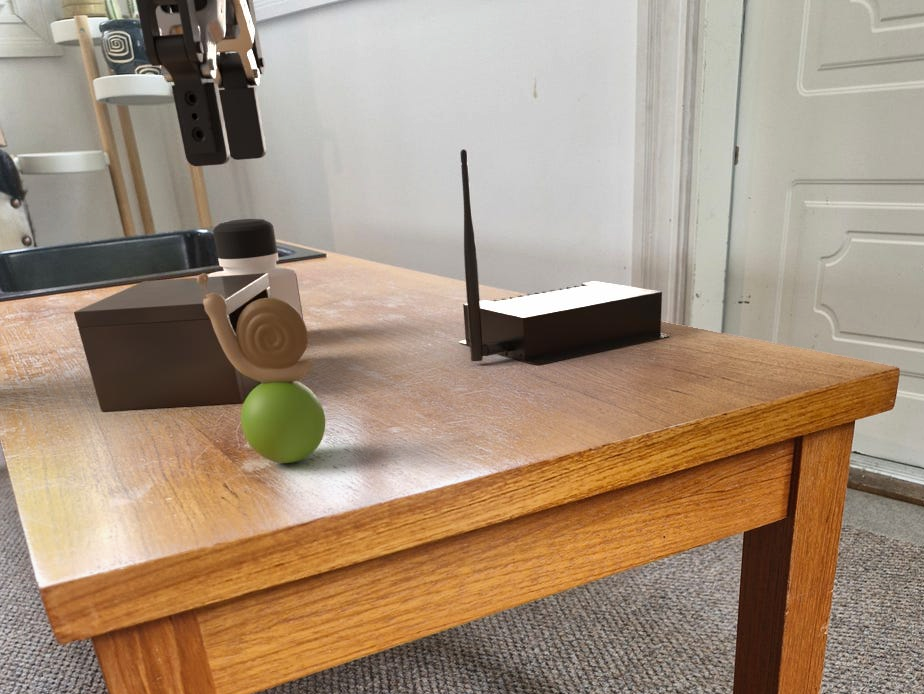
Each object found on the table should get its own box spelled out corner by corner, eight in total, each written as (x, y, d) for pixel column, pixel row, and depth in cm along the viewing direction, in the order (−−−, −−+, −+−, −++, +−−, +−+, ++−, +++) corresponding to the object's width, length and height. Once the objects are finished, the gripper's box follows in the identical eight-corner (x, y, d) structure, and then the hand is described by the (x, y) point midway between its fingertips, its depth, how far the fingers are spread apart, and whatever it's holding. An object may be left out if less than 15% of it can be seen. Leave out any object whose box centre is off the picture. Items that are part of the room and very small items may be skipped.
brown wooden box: (101, 411, 75) (73, 311, 71) (163, 366, 89) (143, 281, 85) (241, 403, 75) (221, 302, 71) (282, 359, 88) (267, 272, 84)
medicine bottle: (307, 341, 95) (288, 217, 89) (244, 353, 92) (220, 225, 86) (281, 332, 101) (261, 215, 95) (220, 343, 97) (195, 222, 91)
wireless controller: (584, 317, 97) (583, 136, 88) (672, 336, 86) (681, 131, 78) (421, 349, 88) (403, 151, 80) (497, 373, 78) (485, 148, 69)
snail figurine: (246, 451, 63) (210, 268, 57) (337, 446, 63) (309, 261, 57) (225, 477, 58) (182, 281, 52) (322, 472, 58) (291, 273, 52)
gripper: (138, -167, 50) (202, 162, 58) (19, -263, 38) (121, 173, 46) (271, -180, 49) (317, 153, 58) (194, -280, 37) (266, 162, 45)
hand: (230, 161), depth 52 cm, fingers open, 8 cm apart
